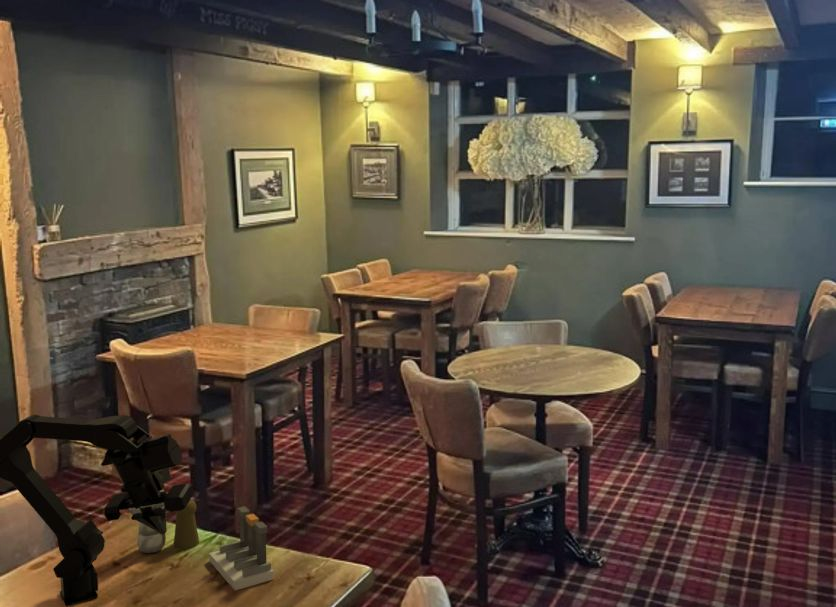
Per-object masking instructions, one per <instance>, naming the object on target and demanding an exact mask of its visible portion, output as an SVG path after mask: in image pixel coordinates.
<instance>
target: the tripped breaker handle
mask: <svg viewBox="0 0 836 607" xmlns="http://www.w3.org/2000/svg"><path fill="white" fill-rule="evenodd" d="M246 522H247V523H248V546H249V556H253V555H257V542H256V530H255V529H254V523H257V522H260V518H259V517H258V516H257V515H255V514H254V513H250V514H249V515H246Z"/></svg>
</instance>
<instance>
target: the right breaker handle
mask: <svg viewBox="0 0 836 607" xmlns="http://www.w3.org/2000/svg"><path fill="white" fill-rule="evenodd" d="M254 529H255V530H256V542H257V565H261V564H265V563H267V536H266V534H267V533H269V532H268V529H269V528H268V525H266V524H265V523H264V522H263V521H259V522H257V523H254Z"/></svg>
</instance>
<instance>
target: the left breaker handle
mask: <svg viewBox="0 0 836 607" xmlns="http://www.w3.org/2000/svg"><path fill="white" fill-rule="evenodd" d="M249 514H251V511H250V509H249V508H248V507H246V506H241V507H237V515H238V517H239V541H240V548H243V547H247V546H248V523H247V522H246V515H249Z"/></svg>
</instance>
